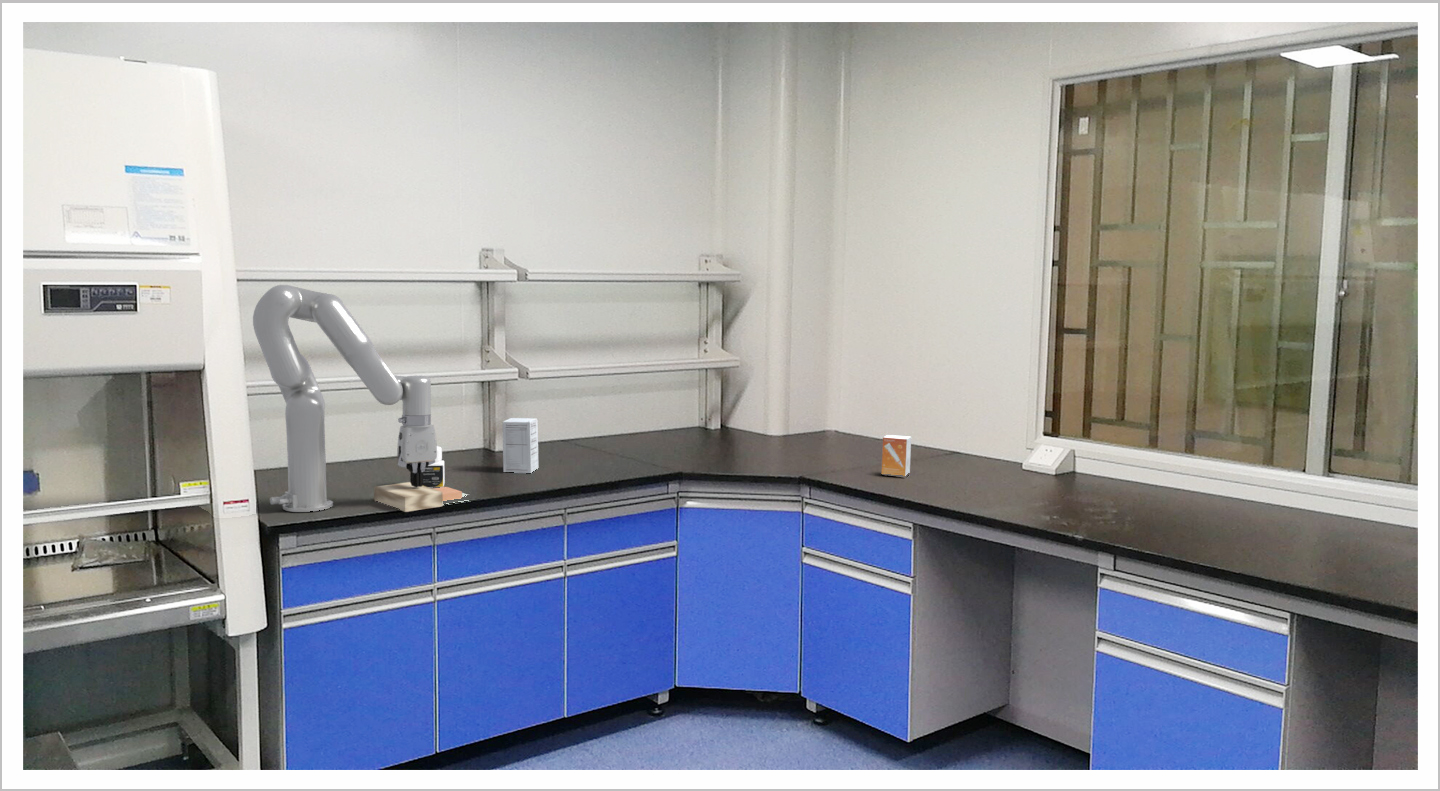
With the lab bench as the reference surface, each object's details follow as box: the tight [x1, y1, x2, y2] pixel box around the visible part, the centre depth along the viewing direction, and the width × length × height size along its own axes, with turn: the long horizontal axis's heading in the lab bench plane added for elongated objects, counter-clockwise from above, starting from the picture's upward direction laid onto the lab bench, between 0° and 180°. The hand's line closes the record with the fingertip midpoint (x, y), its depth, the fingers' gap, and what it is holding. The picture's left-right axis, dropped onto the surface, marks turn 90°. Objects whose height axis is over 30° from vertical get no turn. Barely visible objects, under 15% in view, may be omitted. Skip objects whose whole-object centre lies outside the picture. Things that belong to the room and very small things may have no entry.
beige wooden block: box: [373, 481, 444, 513], centre depth 295 cm, size 11×18×4 cm, turn 44°
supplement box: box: [502, 417, 539, 474], centre depth 345 cm, size 10×9×17 cm
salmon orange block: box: [432, 486, 463, 501], centre depth 302 cm, size 9×6×2 cm, turn 43°
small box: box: [880, 434, 912, 476], centre depth 347 cm, size 8×6×13 cm
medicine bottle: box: [422, 445, 446, 489], centre depth 319 cm, size 7×7×12 cm
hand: (416, 486), depth 296 cm, fingers closed
